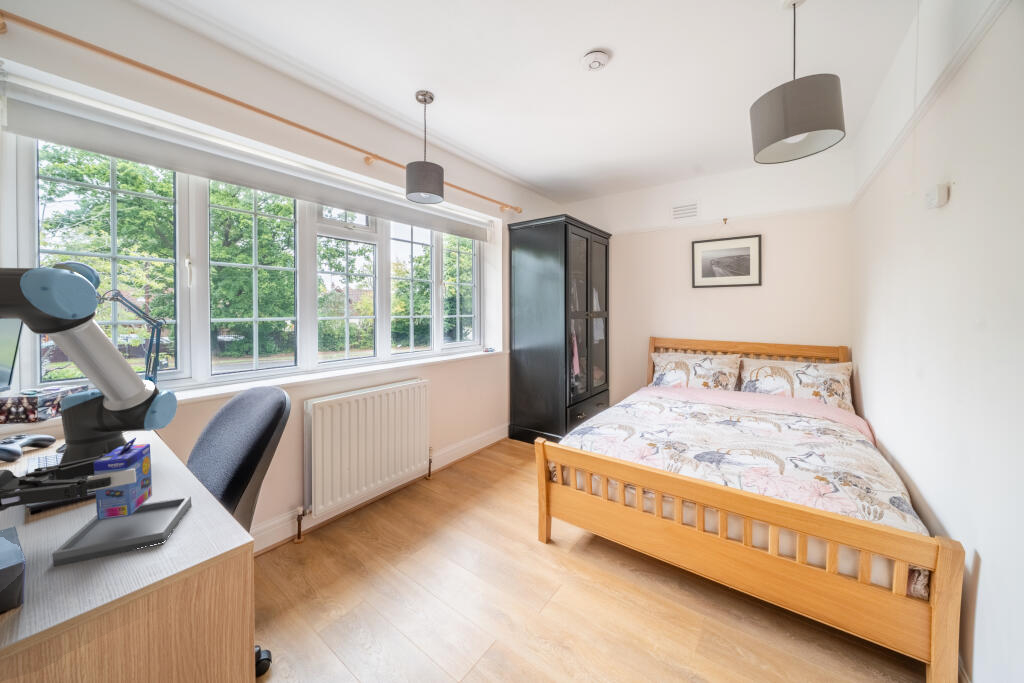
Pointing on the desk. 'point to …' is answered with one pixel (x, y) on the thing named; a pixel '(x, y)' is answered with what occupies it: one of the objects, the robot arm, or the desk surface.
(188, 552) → the desk surface
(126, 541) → the dock tray
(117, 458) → the ink cartridge box
